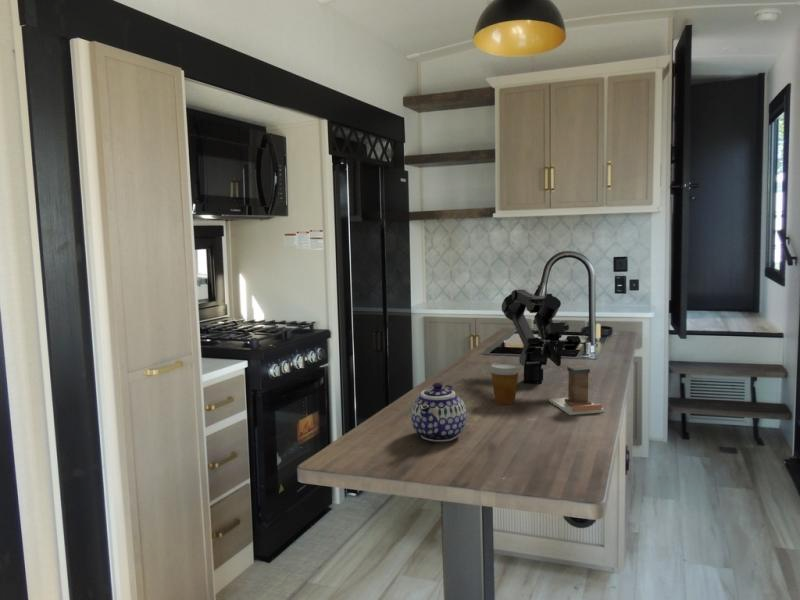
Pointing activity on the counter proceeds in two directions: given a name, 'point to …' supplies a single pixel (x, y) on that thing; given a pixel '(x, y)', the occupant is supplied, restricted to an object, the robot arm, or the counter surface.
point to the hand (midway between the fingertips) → (559, 365)
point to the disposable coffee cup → (504, 382)
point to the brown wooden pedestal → (578, 386)
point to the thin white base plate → (576, 407)
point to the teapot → (438, 414)
